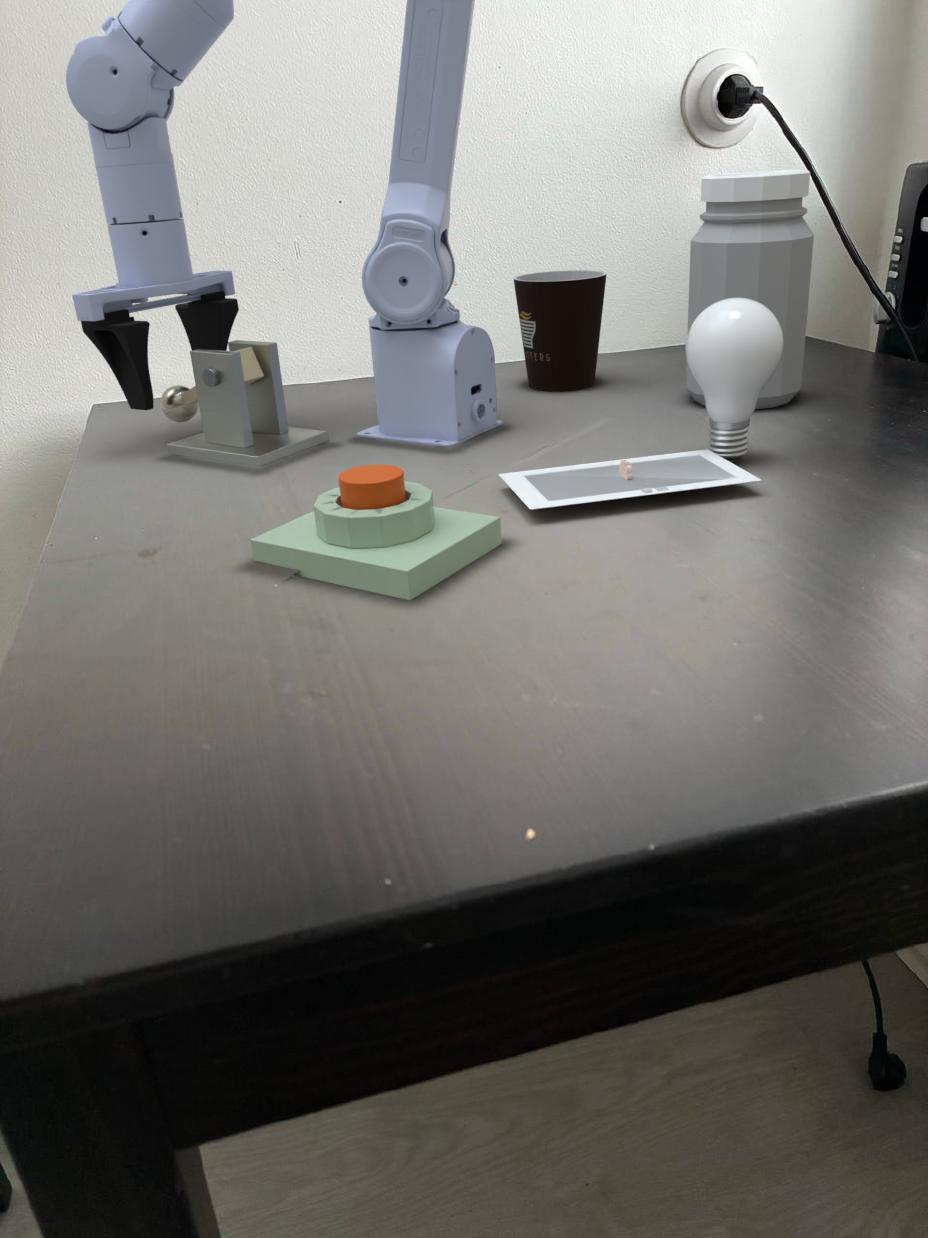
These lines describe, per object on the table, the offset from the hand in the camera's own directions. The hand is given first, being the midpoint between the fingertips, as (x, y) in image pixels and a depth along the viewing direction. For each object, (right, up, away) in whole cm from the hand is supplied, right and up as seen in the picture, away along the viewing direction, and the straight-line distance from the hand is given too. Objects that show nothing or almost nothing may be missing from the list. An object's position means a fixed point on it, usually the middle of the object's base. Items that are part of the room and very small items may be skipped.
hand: (178, 398), depth 82 cm
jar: (+48, +1, +5) cm, 48 cm away
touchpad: (+34, -10, -17) cm, 40 cm away
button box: (+19, -15, -25) cm, 35 cm away
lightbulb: (+42, -7, -12) cm, 44 cm away
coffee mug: (+33, +5, +16) cm, 37 cm away
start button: (+19, -12, -27) cm, 34 cm away
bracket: (+6, -5, -2) cm, 8 cm away
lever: (+4, -1, -2) cm, 4 cm away
